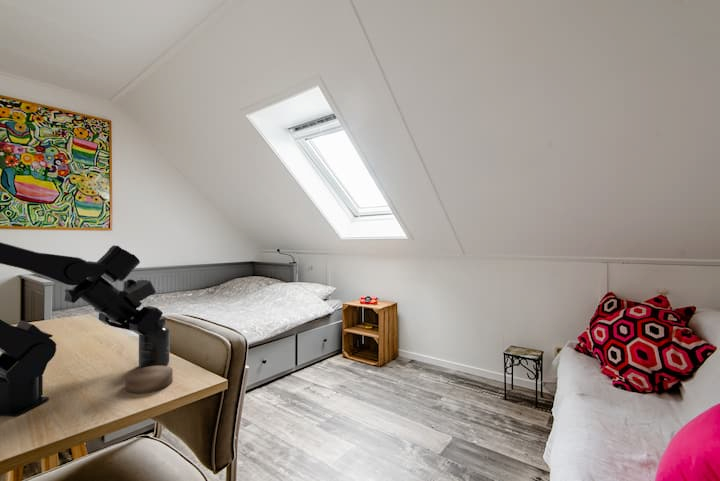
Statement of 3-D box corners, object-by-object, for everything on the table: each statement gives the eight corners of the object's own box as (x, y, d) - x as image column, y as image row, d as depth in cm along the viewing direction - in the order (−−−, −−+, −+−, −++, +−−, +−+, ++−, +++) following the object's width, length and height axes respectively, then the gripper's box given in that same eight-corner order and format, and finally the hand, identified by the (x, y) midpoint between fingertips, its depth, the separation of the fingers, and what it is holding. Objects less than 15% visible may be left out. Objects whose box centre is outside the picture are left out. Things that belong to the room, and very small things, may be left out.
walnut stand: (156, 394, 75) (156, 382, 75) (115, 392, 76) (115, 380, 75) (180, 376, 84) (180, 366, 84) (143, 375, 84) (143, 364, 84)
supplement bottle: (174, 364, 92) (175, 317, 92) (146, 372, 86) (146, 322, 86) (161, 358, 96) (161, 313, 96) (133, 366, 90) (133, 318, 90)
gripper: (153, 273, 81) (198, 312, 91) (112, 267, 91) (156, 303, 100) (115, 314, 74) (167, 352, 84) (75, 304, 84) (126, 338, 94)
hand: (154, 334), depth 91 cm, fingers open, 9 cm apart
